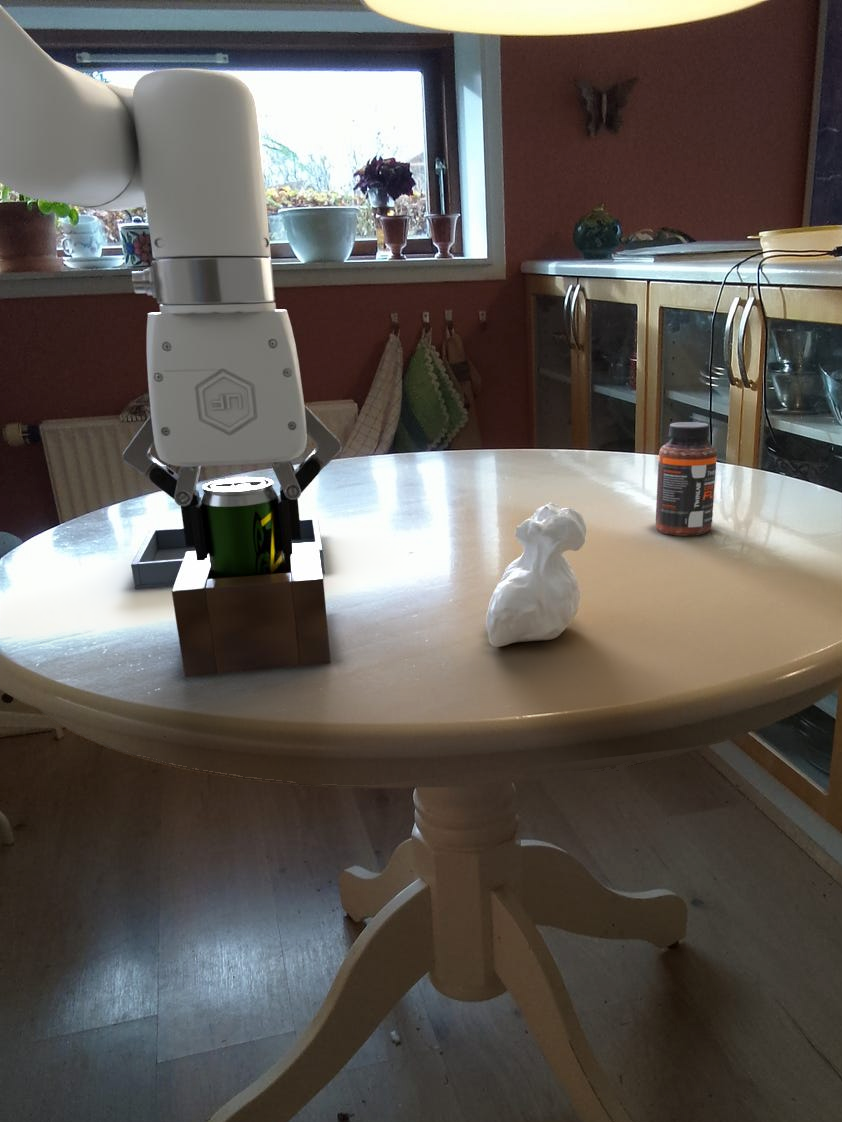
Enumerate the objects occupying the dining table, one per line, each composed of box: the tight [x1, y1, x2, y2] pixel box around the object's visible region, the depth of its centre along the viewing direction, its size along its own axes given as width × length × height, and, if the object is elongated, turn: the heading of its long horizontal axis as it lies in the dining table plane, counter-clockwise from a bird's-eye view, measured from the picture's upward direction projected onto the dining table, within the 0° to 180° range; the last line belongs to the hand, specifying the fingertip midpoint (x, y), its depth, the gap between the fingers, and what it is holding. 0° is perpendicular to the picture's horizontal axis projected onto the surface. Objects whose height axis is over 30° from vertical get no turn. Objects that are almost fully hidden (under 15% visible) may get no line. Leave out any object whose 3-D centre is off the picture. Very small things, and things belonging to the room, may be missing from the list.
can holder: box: [171, 542, 332, 678], centre depth 69 cm, size 10×10×6 cm
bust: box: [485, 501, 587, 648], centre depth 69 cm, size 12×8×11 cm
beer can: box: [201, 476, 286, 579], centre depth 68 cm, size 5×5×12 cm
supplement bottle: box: [655, 421, 718, 537], centre depth 97 cm, size 6×6×11 cm
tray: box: [130, 517, 326, 590], centre depth 91 cm, size 17×13×2 cm
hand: (245, 550), depth 68 cm, fingers closed on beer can, 5 cm apart
